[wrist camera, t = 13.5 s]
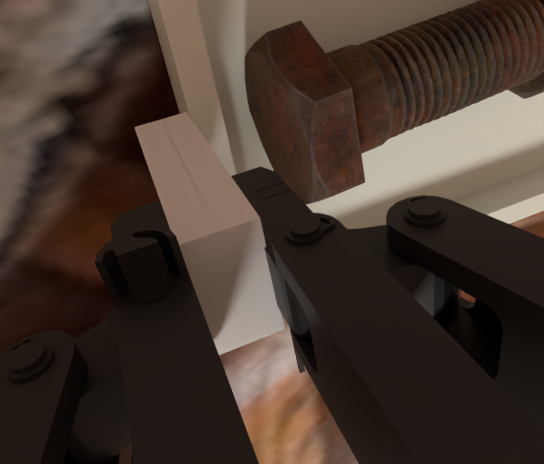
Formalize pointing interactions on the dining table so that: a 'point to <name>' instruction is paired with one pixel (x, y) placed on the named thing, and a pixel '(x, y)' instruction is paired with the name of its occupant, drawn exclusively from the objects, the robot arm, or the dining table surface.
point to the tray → (377, 162)
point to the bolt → (383, 86)
